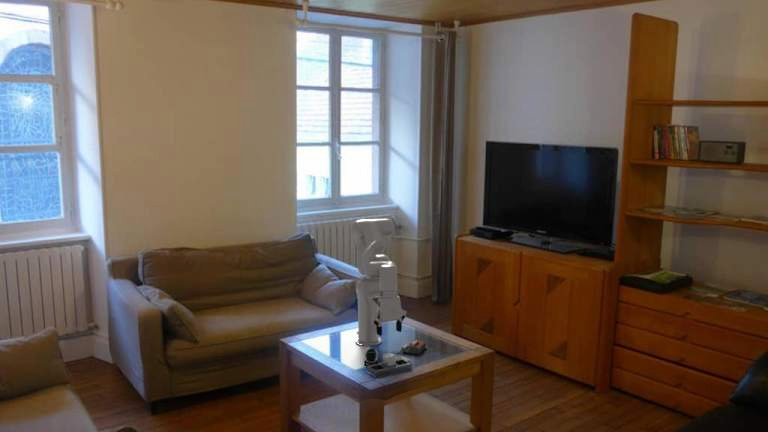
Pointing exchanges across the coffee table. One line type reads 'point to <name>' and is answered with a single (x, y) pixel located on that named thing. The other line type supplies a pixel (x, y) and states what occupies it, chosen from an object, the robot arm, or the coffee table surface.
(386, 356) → the steel block
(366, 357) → the toy car
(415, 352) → the walkie-talkie
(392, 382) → the coffee table surface
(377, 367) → the grey flat frame
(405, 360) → the sage mat
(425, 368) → the coffee table surface
